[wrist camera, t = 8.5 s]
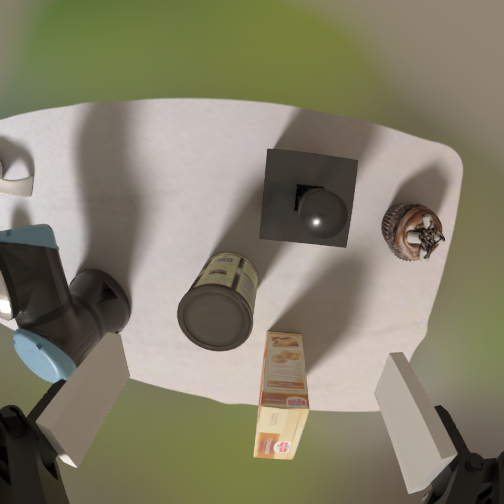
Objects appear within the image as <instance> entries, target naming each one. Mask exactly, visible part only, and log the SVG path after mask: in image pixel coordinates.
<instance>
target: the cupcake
mask: <svg viewBox="0 0 504 504" xmlns="http://www.w3.org/2000/svg"><path fill="white" fill-rule="evenodd" d="M381 230H382V234H383V237H384V239H385V241H386V242H387V244H388V246H389V248H390V250H391V251H392V253H394V255H395V256H397V258H398V257H399V258H400V259H403V260H406V261H407V260H409V261H411V260H413V261H414V260H420V261H422V262H426V261H427V260H428V259H429V257H430V254H431V253H432V252H434V250H435V249H436V248H437V247H438V245H439V244H443V243H444V241H445V238H444V236H443V234H442V225H441V222H440V220H439V218H438V217H437V216H436V215H435V213H433V212H432V211H431V210H430V209H429V208H427V207H425V206H424V205H421V204H418V203H407V204H398V205H395V206H393V207H392V208H390V209H389V211H388V212H387V213H386V214H385V215H384V217H383V221H382V228H381Z"/></svg>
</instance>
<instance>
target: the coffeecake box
mask: <svg viewBox="0 0 504 504" xmlns="http://www.w3.org/2000/svg"><path fill="white" fill-rule="evenodd" d="M309 410H310V408H309V401H308V388H307V379H306V369H305V359H304V350H303V341H302V334H293V333H281V332H272V331H267V333H266V341H265V350H264V358H263V367H262V375H261V384H260V396H259V406H258V417H257V427H256V438H255V448H254V457H258V458H274V459H293V457H294V455H295V452H296V449H297V447H298V444H299V441H300V438H301V435H302V432H303V429H304V426H305V422H306V419H307V416H308V413H309Z"/></svg>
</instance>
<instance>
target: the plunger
mask: <svg viewBox="0 0 504 504" xmlns="http://www.w3.org/2000/svg"><path fill="white" fill-rule="evenodd" d="M294 210H298V215H299V218H300V220H301V222H302V224H303V226H304V228H305V230H306V231H307V232H308V233H309V234H311V235H312V236H314V237H316V238H320V239H328V238H332V237H334V236H336V235H337V234H339V233H340V232H341V231H342V230H343V228H344V227H345V225H346V222H347V219H348V211H347V207H346V205H345V203H344V201H343V200H342V199H341V198H340V197H339V196H338V195H336V194H334V193H333V192H331V191H329V190H327V189H323V187H320V186H312V185H303V184H297V189H296V198H295V207H294Z"/></svg>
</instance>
